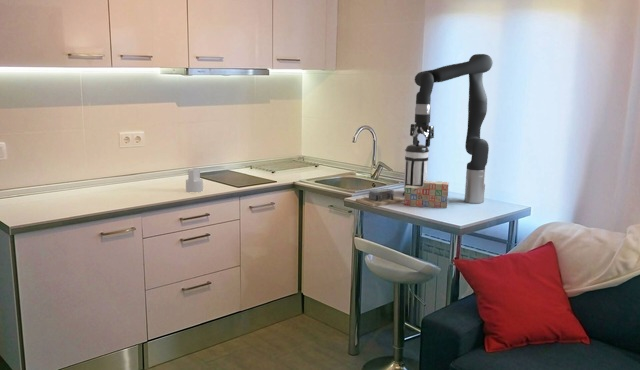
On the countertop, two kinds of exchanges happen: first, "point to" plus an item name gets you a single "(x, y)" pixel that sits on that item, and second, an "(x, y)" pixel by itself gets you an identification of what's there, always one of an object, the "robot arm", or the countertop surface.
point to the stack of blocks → (427, 194)
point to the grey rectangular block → (383, 192)
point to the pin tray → (380, 201)
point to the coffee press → (415, 165)
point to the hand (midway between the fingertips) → (421, 145)
